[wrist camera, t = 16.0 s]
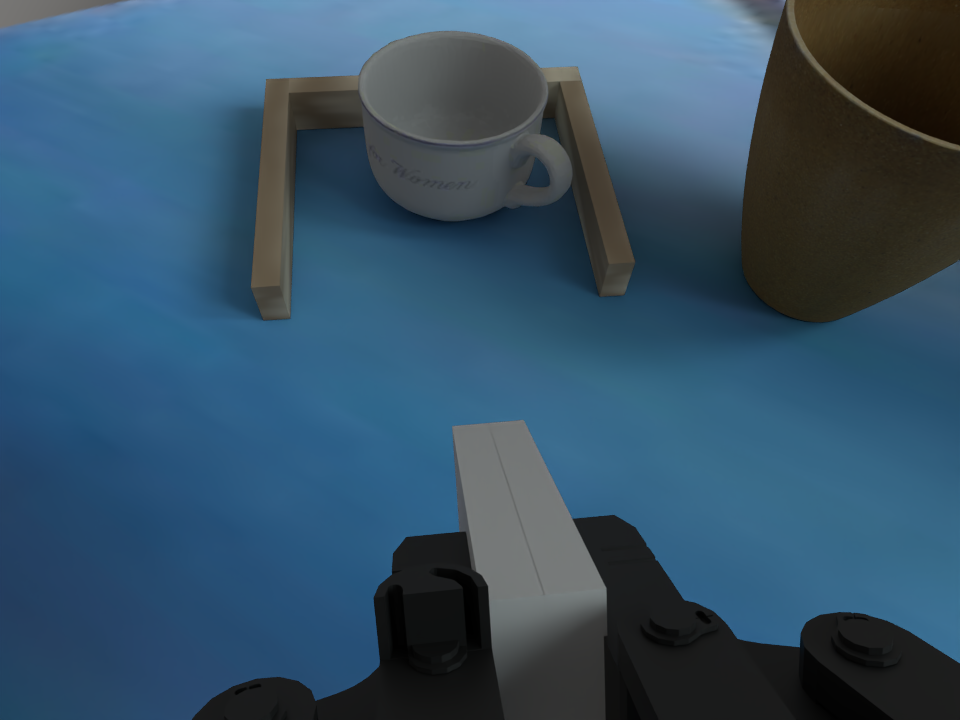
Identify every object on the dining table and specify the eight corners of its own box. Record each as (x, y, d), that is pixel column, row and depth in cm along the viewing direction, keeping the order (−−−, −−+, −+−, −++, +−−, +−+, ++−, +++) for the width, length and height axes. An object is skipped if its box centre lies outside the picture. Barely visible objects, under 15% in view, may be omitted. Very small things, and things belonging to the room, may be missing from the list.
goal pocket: (571, 103, 52) (577, 66, 49) (624, 295, 42) (635, 262, 40) (275, 116, 50) (266, 79, 47) (263, 320, 40) (250, 287, 38)
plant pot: (726, 391, 39) (872, 169, 25) (656, 196, 47) (740, -54, 33) (977, 368, 40) (1243, 146, 27) (869, 182, 48) (1033, -63, 35)
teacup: (339, 169, 47) (321, 61, 40) (472, 109, 51) (475, 1, 44) (462, 308, 41) (464, 210, 35) (601, 229, 45) (628, 126, 38)
